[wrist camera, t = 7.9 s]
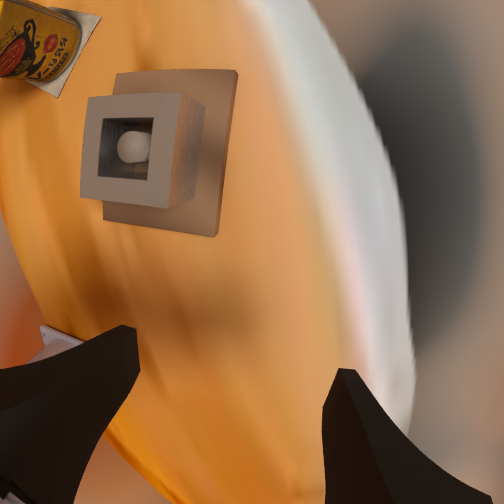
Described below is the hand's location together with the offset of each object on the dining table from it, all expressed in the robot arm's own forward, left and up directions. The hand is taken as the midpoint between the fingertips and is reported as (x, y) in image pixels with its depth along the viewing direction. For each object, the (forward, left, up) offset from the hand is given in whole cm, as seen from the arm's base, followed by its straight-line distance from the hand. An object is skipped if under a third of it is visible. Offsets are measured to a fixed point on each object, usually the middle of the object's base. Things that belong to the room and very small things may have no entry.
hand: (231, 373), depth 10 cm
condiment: (+16, +20, -10) cm, 27 cm away
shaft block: (+7, +7, -10) cm, 14 cm away
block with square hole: (+7, +7, -9) cm, 13 cm away
